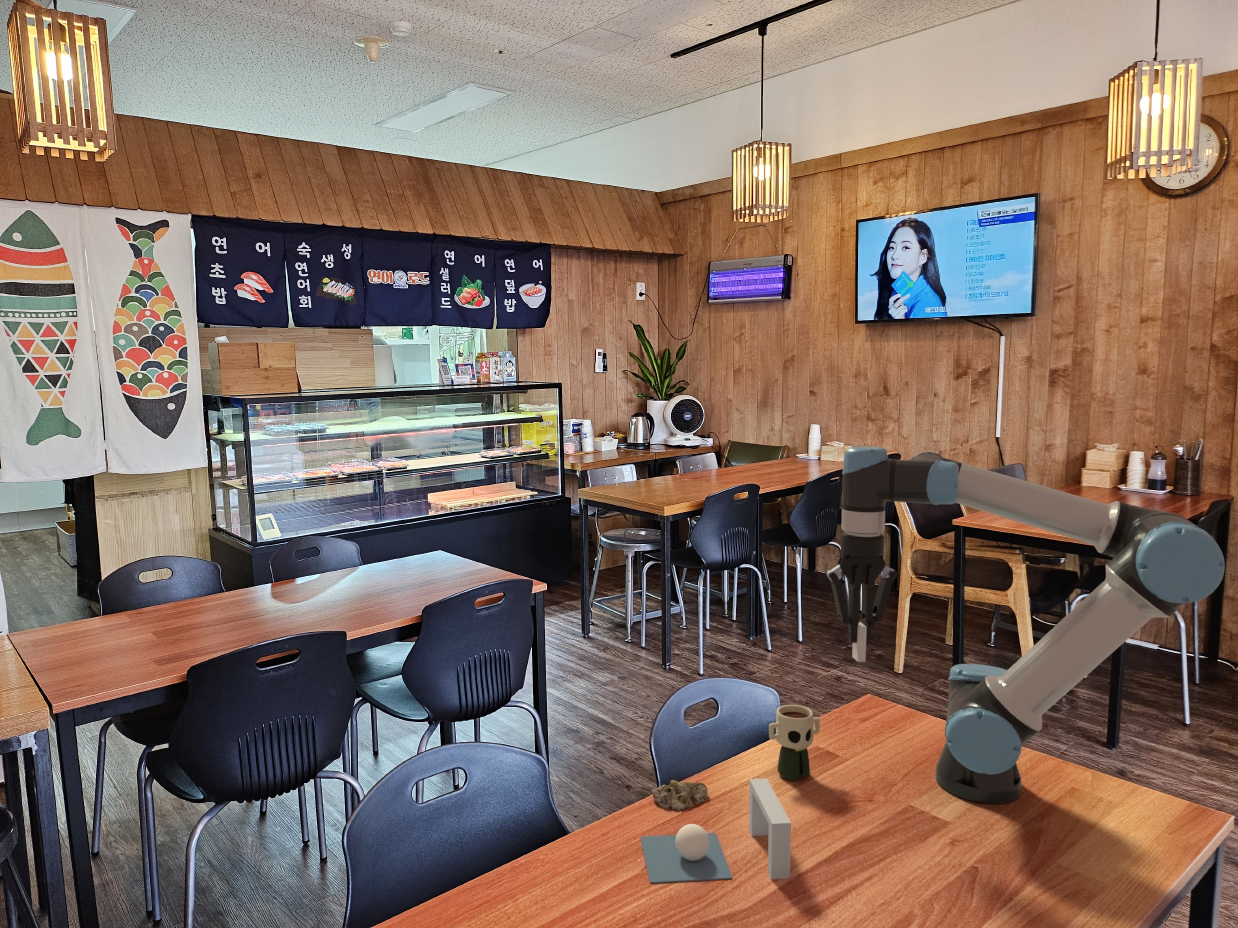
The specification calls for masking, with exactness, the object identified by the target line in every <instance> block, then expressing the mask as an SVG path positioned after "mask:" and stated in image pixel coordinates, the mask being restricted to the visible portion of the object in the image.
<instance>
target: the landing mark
mask: <svg viewBox="0 0 1238 928" xmlns="http://www.w3.org/2000/svg"><path fill="white" fill-rule="evenodd" d="M706 833H707V835H708V837H709V849H708V851H707V853H706V855H705V856H704V857H703V858H701V859H699V860H696V861H690V860H687V859H685V858H683V857H682V856H681V855H680V854H679V852H678V850H677V848H676V836H677V834H666V835H645V836H644V835H643V836H639V837H640V841H641V846H642V851H643V856H644V862H645V866H647V867H646V871H648V872H647V874H648V875H647V876H648V880H650V881H649V883H650V884H661V883H664V882H666V883H681V882H697V881H698V882H700V881H715V880H718V881H719V880H732V879H733V876H732V873H731V869H730V866H729V865H728V862H727V859H726V856H725V855H724V854H725V853H724V852H723V849H722V846H721V844H720V841H719V839H718V835H717V832H706ZM664 884H665V883H664Z"/></svg>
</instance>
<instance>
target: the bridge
mask: <svg viewBox="0 0 1238 928" xmlns="http://www.w3.org/2000/svg"><path fill="white" fill-rule="evenodd" d="M748 802H749V803H748V804H749V806H748V809H749V811H748V812H749V814H748V831H749V833H750V836H751V837H758V836H768V844H767V873H768V876H769V878H770V880H788V879H791V851H792V850H791V849H792V848H791V847H792V845H791V844H792V822H791V820H790V818H789V816H788V815H787V813H786V811H785V809H784V807H783V805H782V803H781V801H780V799H779V798H778V796H777V794H776V792H775V790H774V789H773V787H772V784H770V781H769V780H768V778H750V779H749V801H748Z"/></svg>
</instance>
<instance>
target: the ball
mask: <svg viewBox="0 0 1238 928" xmlns="http://www.w3.org/2000/svg"><path fill="white" fill-rule="evenodd" d="M707 833H708V832H707V831H706V830H705V829H704V828H703V826H700V825H698V824H695V823H688V824H686V825H684V826H681V828H680V829H678V832H677V833H676V835H677V836H676V848H677V850H678V852H679V854H680V855H681V856H682V857H683V858H685V859H687V860H690V861H696V860H699V859H701V858H703V857H704V856H705V855H706V853H707V851H708V849H709V837H708V835H707Z"/></svg>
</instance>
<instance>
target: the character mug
mask: <svg viewBox="0 0 1238 928" xmlns="http://www.w3.org/2000/svg"><path fill="white" fill-rule="evenodd" d="M775 715H776V718H775V722H771V723H769V725H768V737H769V740H773V741H774V740H776V742H777V743H778V744H779V745H781V747H780V749H779V750H780V751H779V754H778V761H777V767H776V770H777V772H778V773H779V775H780V776H781V777H783V778H785V779H788V780H790V781H791V780H792V781H800V776H801V775H802V778H803V780H806V779H807V778H809V777H810V776H811V775H810V774H811V768H810V757H809V751H808V748H809V747H810V746H811V745H812V744H813V740H814V735H815V734H818V733H820V725H821V724H820V723H821V720H820V717H818V716H817V717H814V712H813V711H812V709H810V708H809V707H806V706H803V705H797V704H786V705H781V706H779V707H778V708H777V709H776V714H775Z"/></svg>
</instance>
